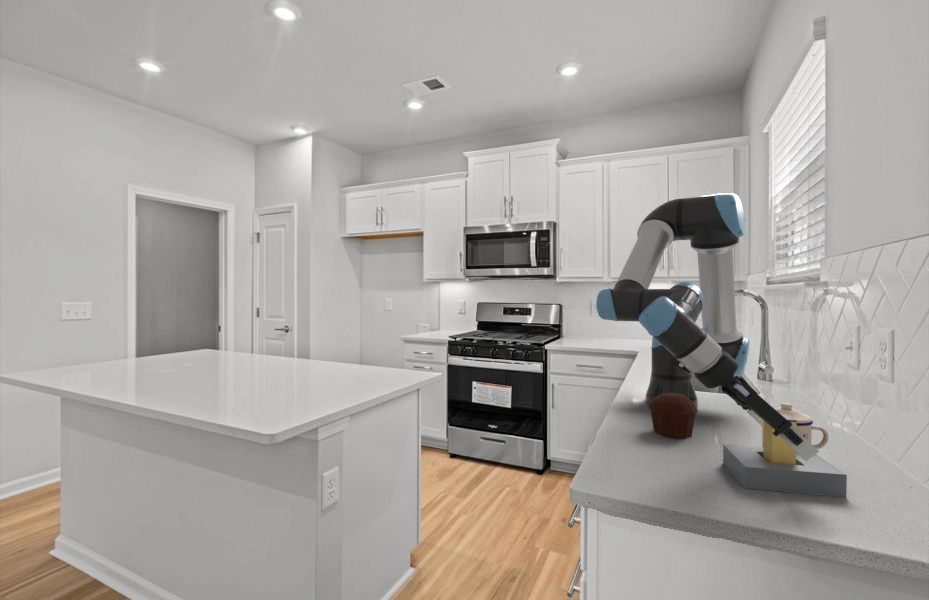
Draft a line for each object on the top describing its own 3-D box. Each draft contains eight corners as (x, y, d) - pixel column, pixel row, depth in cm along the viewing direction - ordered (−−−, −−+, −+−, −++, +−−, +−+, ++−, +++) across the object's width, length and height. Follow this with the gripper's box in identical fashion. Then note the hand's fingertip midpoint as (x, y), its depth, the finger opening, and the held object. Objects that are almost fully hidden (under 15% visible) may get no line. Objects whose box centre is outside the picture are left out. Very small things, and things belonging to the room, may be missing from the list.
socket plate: (723, 463, 94) (723, 444, 94) (810, 470, 90) (811, 450, 90) (744, 488, 82) (745, 466, 82) (846, 497, 79) (846, 474, 79)
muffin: (670, 442, 107) (670, 401, 107) (638, 429, 117) (638, 391, 117) (708, 437, 111) (708, 397, 110) (674, 424, 121) (674, 387, 121)
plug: (762, 468, 89) (763, 413, 89) (785, 469, 88) (786, 414, 88) (771, 476, 85) (772, 418, 85) (795, 478, 84) (796, 420, 84)
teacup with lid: (767, 461, 95) (768, 407, 95) (756, 447, 104) (756, 397, 103) (836, 469, 91) (837, 412, 91) (819, 453, 99) (820, 401, 99)
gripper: (678, 364, 102) (751, 434, 99) (712, 388, 77) (811, 482, 74) (704, 341, 100) (779, 412, 97) (747, 358, 76) (849, 453, 73)
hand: (793, 442), depth 86 cm, fingers open, 13 cm apart
